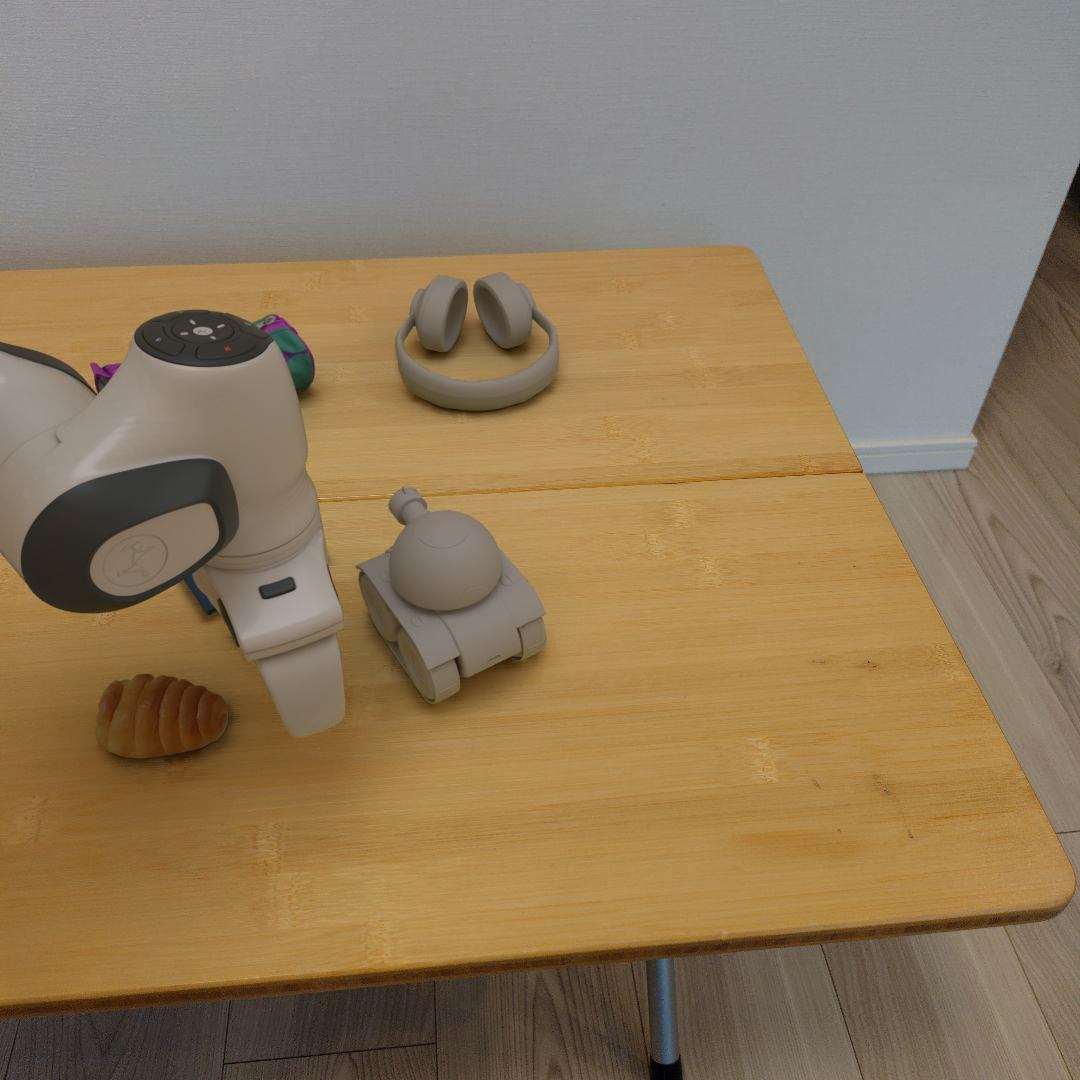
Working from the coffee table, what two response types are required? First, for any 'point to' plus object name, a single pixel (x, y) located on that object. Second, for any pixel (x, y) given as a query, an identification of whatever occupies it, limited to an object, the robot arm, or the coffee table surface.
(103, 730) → the pastry
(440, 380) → the headphones
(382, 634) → the toy tank
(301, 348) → the pencil case
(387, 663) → the coffee table surface
